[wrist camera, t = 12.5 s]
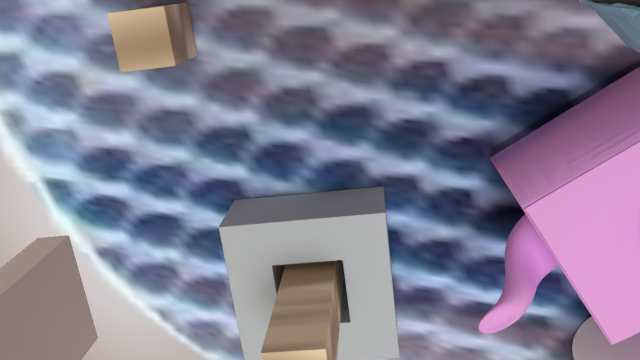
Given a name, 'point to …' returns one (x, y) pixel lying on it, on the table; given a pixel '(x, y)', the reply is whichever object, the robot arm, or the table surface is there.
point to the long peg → (306, 313)
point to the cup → (602, 344)
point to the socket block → (314, 246)
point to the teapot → (578, 210)
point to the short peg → (153, 37)
